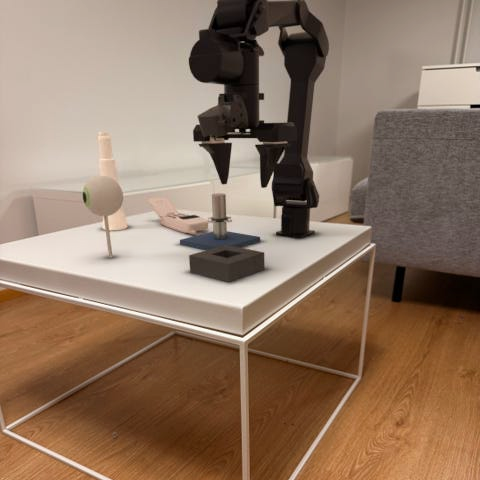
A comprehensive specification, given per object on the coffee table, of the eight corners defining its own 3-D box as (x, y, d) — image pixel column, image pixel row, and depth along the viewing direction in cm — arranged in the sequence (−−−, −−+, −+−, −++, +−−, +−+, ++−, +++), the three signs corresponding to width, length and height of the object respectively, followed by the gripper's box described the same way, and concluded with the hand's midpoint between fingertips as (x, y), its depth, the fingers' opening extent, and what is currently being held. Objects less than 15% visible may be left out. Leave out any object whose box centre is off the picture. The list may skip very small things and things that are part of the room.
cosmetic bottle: (120, 230, 112) (109, 132, 103) (98, 230, 113) (84, 132, 105) (131, 225, 117) (121, 131, 109) (110, 225, 119) (98, 132, 110)
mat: (219, 234, 106) (219, 229, 106) (260, 241, 99) (260, 236, 98) (179, 244, 98) (179, 239, 97) (221, 253, 90) (221, 248, 90)
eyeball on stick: (85, 256, 90) (74, 175, 84) (120, 250, 94) (111, 173, 88) (100, 264, 85) (88, 178, 79) (136, 257, 89) (127, 175, 83)
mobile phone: (166, 195, 124) (213, 206, 104) (168, 218, 126) (215, 233, 107) (145, 198, 121) (189, 210, 101) (147, 221, 123) (191, 237, 104)
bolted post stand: (219, 233, 102) (218, 191, 98) (240, 237, 98) (239, 193, 95) (200, 239, 98) (197, 194, 94) (220, 243, 94) (219, 197, 90)
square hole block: (226, 260, 85) (225, 244, 84) (264, 269, 80) (264, 252, 79) (189, 272, 79) (188, 255, 78) (229, 282, 74) (228, 264, 72)
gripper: (165, 88, 76) (173, 187, 82) (254, 79, 64) (255, 195, 70) (213, 90, 84) (217, 181, 90) (300, 83, 72) (297, 187, 78)
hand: (243, 185), depth 82 cm, fingers open, 9 cm apart
